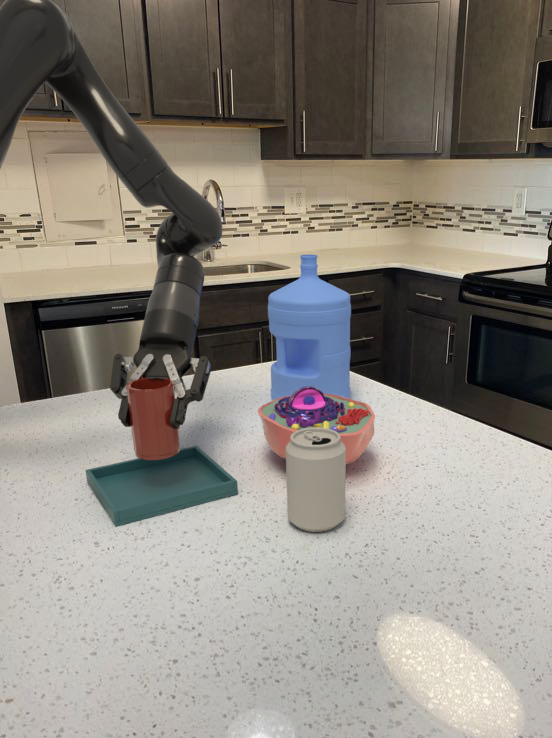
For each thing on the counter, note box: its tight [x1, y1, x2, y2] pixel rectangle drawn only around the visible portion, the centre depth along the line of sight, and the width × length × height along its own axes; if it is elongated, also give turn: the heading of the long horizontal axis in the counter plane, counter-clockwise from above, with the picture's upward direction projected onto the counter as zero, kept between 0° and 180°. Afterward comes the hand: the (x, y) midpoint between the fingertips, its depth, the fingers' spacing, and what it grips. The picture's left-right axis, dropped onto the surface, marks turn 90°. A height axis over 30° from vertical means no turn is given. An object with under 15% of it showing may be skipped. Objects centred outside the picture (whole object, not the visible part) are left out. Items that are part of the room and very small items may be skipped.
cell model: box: [257, 386, 376, 466], centre depth 102 cm, size 17×20×11 cm
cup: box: [126, 378, 181, 460], centre depth 91 cm, size 6×6×10 cm
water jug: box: [267, 254, 352, 401], centre depth 126 cm, size 16×16×28 cm
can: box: [285, 427, 347, 533], centre depth 84 cm, size 8×8×12 cm
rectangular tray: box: [84, 445, 239, 527], centre depth 95 cm, size 17×15×2 cm
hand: (150, 425), depth 90 cm, fingers closed on cup, 6 cm apart
